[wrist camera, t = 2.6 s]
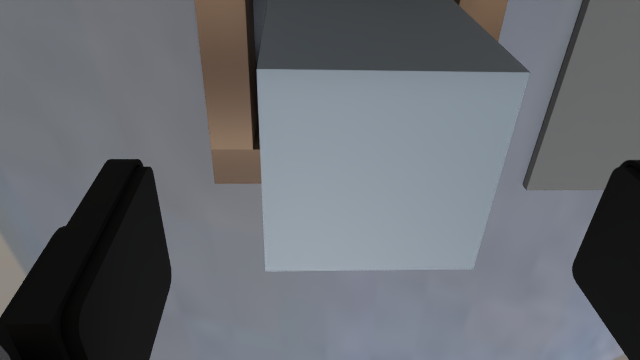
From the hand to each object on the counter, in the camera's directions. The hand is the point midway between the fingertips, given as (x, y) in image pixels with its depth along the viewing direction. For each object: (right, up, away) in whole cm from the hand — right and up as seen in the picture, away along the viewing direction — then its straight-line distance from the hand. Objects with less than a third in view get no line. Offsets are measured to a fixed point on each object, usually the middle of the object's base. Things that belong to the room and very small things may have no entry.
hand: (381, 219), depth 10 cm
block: (0, +6, +8) cm, 11 cm away
